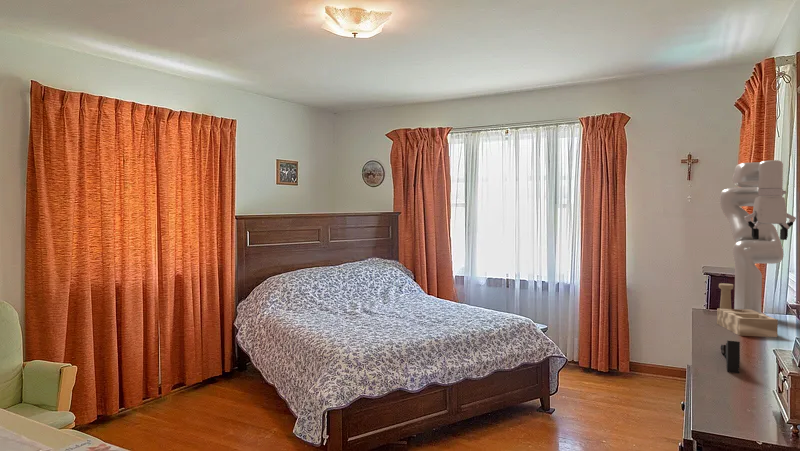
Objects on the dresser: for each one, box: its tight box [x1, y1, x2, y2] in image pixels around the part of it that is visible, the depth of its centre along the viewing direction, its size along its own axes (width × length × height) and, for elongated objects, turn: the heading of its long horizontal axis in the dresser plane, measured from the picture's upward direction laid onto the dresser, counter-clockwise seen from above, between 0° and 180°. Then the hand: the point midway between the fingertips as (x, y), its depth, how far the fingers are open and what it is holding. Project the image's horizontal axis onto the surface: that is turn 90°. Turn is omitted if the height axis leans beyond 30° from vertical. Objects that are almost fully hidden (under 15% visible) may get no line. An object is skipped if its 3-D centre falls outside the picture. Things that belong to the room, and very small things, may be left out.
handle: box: [718, 282, 734, 309], centre depth 214 cm, size 5×6×15 cm
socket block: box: [716, 308, 779, 338], centre depth 200 cm, size 20×12×6 cm, turn 170°
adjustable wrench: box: [720, 340, 741, 374], centre depth 157 cm, size 8×3×25 cm
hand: (769, 239), depth 204 cm, fingers open, 9 cm apart
